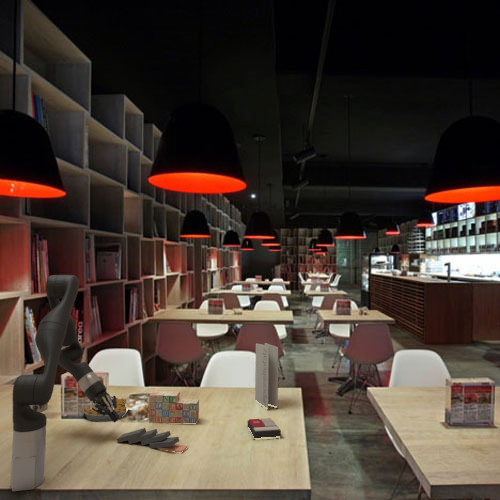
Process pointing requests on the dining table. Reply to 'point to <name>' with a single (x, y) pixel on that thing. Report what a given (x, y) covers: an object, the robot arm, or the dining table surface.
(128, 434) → the domino
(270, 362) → the brochure
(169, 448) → the end domino
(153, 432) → the domino
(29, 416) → the robot arm
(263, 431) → the book
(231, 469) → the dining table surface
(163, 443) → the domino
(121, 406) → the berry pie
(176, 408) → the stack of blocks
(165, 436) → the domino
